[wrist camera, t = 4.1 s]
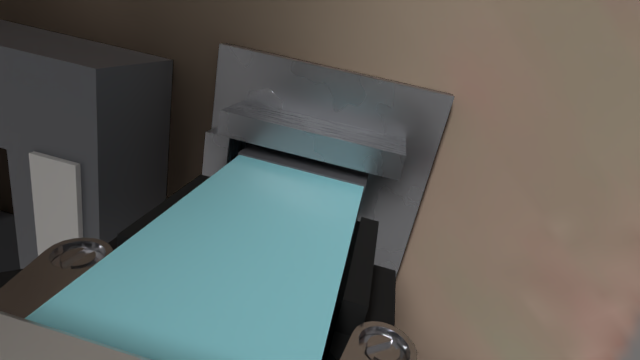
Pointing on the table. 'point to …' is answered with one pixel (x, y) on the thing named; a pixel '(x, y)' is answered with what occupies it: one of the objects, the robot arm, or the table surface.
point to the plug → (225, 267)
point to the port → (78, 138)
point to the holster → (332, 130)
